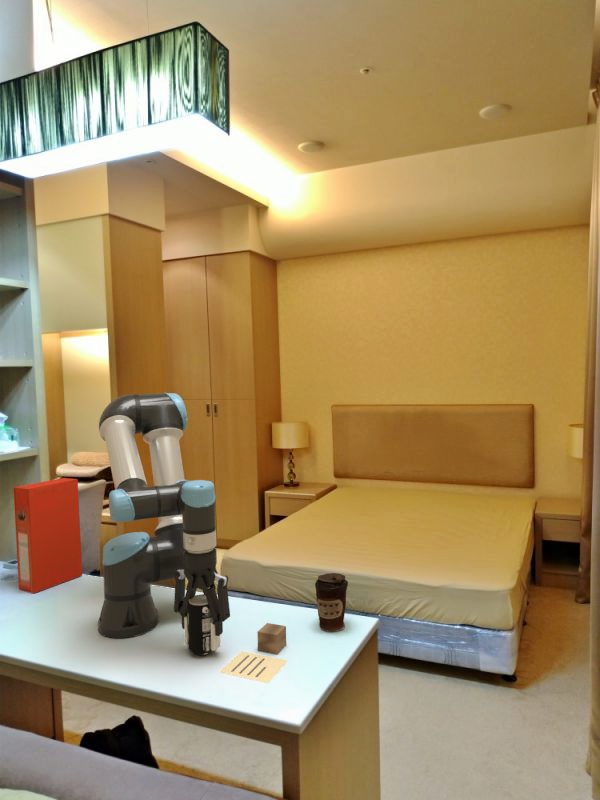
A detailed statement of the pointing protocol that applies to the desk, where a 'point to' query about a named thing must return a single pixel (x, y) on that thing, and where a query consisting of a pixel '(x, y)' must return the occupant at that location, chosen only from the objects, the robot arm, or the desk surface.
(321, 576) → the coffee cup
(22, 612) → the desk surface
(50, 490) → the file binder
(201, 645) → the beverage can
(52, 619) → the desk surface
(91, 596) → the desk surface
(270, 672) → the letter
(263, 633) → the walnut block
